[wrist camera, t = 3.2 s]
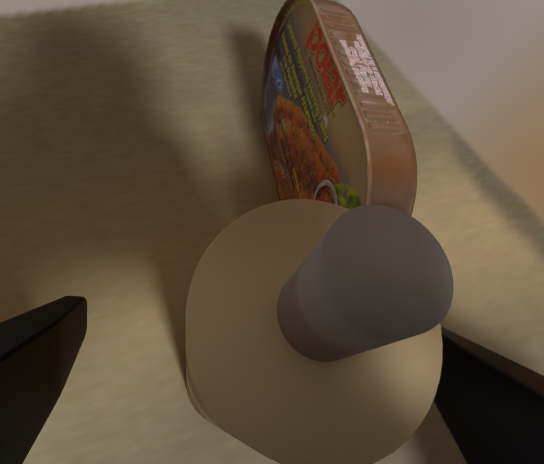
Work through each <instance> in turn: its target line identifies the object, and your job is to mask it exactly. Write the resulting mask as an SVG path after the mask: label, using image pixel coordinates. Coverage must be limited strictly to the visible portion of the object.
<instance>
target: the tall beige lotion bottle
mask: <svg viewBox="0 0 544 464" xmlns="http://www.w3.org/2000/svg"><path fill="white" fill-rule="evenodd" d="M452 297H453V277H452V272H451V267H450V264H449V262H448V259H447V257H446V255H445V253H444V250H443V249H442V247H441V246H440V244H439V242H438V241H437V240H436V238H435V237H434V236H433V235H432V234H431V233H430V231H429V230H428V229H427V228H426V227H424V226H423V225H422V224H421V223H420V222H418V221H417V220H416V219H414V218H413V217H411V216H410V215H408V214H406V213H404V212H402V211H400V210H397V209H394V208H391V207H387V206H382V205H363V206H359V207H355V208H353V209H348V208H345V207H342V206H339V205H336V204H332V203H328V202H324V201H318V200H310V199H291V200H282V201H277V202H272V203H268V204H265V205H262V206H260V207H257V208H254V209H252V210H250V211H248V212H246V213H245V214H243V215H241V216H239V217H238V218H236V219H235V220H234V221H232V222H231V223H230V224H228V225H227V226H226V227H225V228H224V229H223V230H222V231H221V232H220V233H219V234H218V235H217V236H216V237H215V238H214V240H213V241H212V242H211V243H210V245H209V246H208V247H207V249H206V250H205V252H204V254H203V255H202V257H201V259H200V261H199V262H198V265H197V267H196V270H195V272H194V275H193V277H192V280H191V284H190V288H189V292H188V296H187V305H186V313H185V321H186V386H187V392H188V396H189V399H190V401H191V403H192V405H193V406H194V408H195V409H196V411H197V412H198V413H199V414H200V415H201V416H202V417H203V418H205V419H206V420H207V421H209V422H211V423H212V424H214V425H215V426H217V427H219V428H220V429H222V430H223V431H225V432H227V433H228V434H230V435H232V436H233V437H235V438H236V439H238V440H240V441H241V442H243V443H244V444H246V445H248V446H249V447H251V448H252V449H254V450H256V451H257V452H259V453H261V454H262V455H264V456H266V457H268V458H270V459H272V460H275V461H277V462H279V463H281V464H373V463H375V462H378V461H380V460H381V459H383V458H385V457H386V456H388V455H390V454H391V453H393V452H394V451H396V450H397V449H398V448H399V447H400V446H401V445H403V444H404V443H405V442H406V441H407V440H408V439H409V438H410V437H411V436H412V434H413V433H414V432H415V431H416V430H417V429H418V427H419V426H420V424H421V423H422V421H423V420H424V418H425V416H426V415H427V413H428V411H429V409H430V407H431V404H432V402H433V400H434V397H435V395H436V391H437V388H438V384H439V380H440V375H441V367H442V350H443V344H442V334H441V326H440V322H441V321H442V320H443V318H444V317H445V315H446V314H447V312H448V310H449V308H450V305H451V302H452Z"/></svg>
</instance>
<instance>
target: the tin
mask: <svg viewBox="0 0 544 464" xmlns="http://www.w3.org/2000/svg"><path fill="white" fill-rule="evenodd" d="M261 113H262V122H263V129H264V133H265V138H266V142H267V146H268V150H269V154H270V158H271V163H272V166H273V171H274V175H275V179H276V183H277V187H278V192H279V196H280V200H281V201H282V200H291V199H310V200H318V201H324V202H328V203H332V204H336V205H339V206H342V207H345V208H348V209H353V208H355V207H359V206H363V205H382V206H387V207H391V208H394V209H397V210H400V211H402V212H404V213H406V214H408V215H410V216H411V215H412V211H413V207H414V202H415V197H416V188H417V162H416V154H415V149H414V145H413V140H412V137H411V134H410V132H409V129H408V127H407V125H406V123H405V120H404V118H403V116H402V114H401V112H400V110H399V108H398V105H397V103H396V102H395V99H394V97H393V95H392V93H391V91H390V89H389V87H388V85H387V82H386V80H385V78H384V76H383V74H382V72H381V70H380V68H379V66H378V64H377V62H376V59H375V57H374V55H373V53H372V51H371V49H370V47H369V45H368V42H367V40H366V38H365V36H364V34H363V32H362V30H361V27H360V25H359V23H358V21H357V19H356V17H355V16H354V14H353V13H352V12H351V11H350V10H349V9H348V8H347V7H345V6H343V5H341V4H338V3H335V2H332V1H327V0H286V2H285V3H284V5H283V6H282V8H281V9H280V11H279V13H278V15H277V17H276V20H275V22H274V25H273V28H272V31H271V34H270V37H269V42H268V46H267V50H266V56H265V62H264V69H263V77H262V89H261Z"/></svg>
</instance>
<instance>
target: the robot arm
mask: <svg viewBox="0 0 544 464" xmlns="http://www.w3.org/2000/svg"><path fill="white" fill-rule="evenodd" d="M86 329H87V300H86V298H85V297H80V296H65V297H63V298H60V299H58V300H55V301H53V302H50V303H48V304H45V305H43V306H41V307H38V308H36V309H33V310H31V311H28V312H26V313H23V314H21V315H19V316H16V317H14V318H11V319H9V320H6V321H4V322H1V323H0V464H22V463H23V462H24V460H25V458H26V456H27V454H28V453H29V451H30V449H31V447H32V445H33V444H34V442H35V440H36V438H37V437H38V435H39V433H40V431H41V429H42V428H43V426H44V424H45V422H46V420H47V419H48V417H49V415H50V413H51V411H52V410H53V408H54V406H55V404H56V402H57V400H58V398H59V397H60V395H61V392H62V390H63V388H64V386H65V383H66V381H67V378H68V376H69V374H70V371H71V369H72V366H73V364H74V362H75V359H76V357H77V354H78V352H79V350H80V347H81V345H82V342H83V340H84V337H85V334H86ZM441 334H442V344H443V350H442V367H441V375H440V380H439V384H438V388H437V391H436V395H435V397H434V402H435V404H436V406H437V408H438V410H439V412H440V414H441V416H442V418H443V420H444V422H445V424H446V425H447V427H448V429H449V431H450V433H451V435H452V436H453V438H454V440H455V442H456V444H457V446H458V448H459V449H460V451H461V453H462V455H463V457H464V459H465V460H466V462H467V464H544V376H543V375H541V374H539V373H536V372H534V371H532V370H530V369H528V368H526V367H524V366H522V365H520V364H518V363H516V362H514V361H512V360H509V359H507V358H505V357H503V356H501V355H499V354H497V353H495V352H493V351H491V350H489V349H487V348H485V347H483V346H480V345H478V344H476V343H474V342H472V341H470V340H468V339H466V338H464V337H462V336H460V335H458V334H456V333H453V332H451V331H449V330H447V329H445V328H443V327H441Z"/></svg>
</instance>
